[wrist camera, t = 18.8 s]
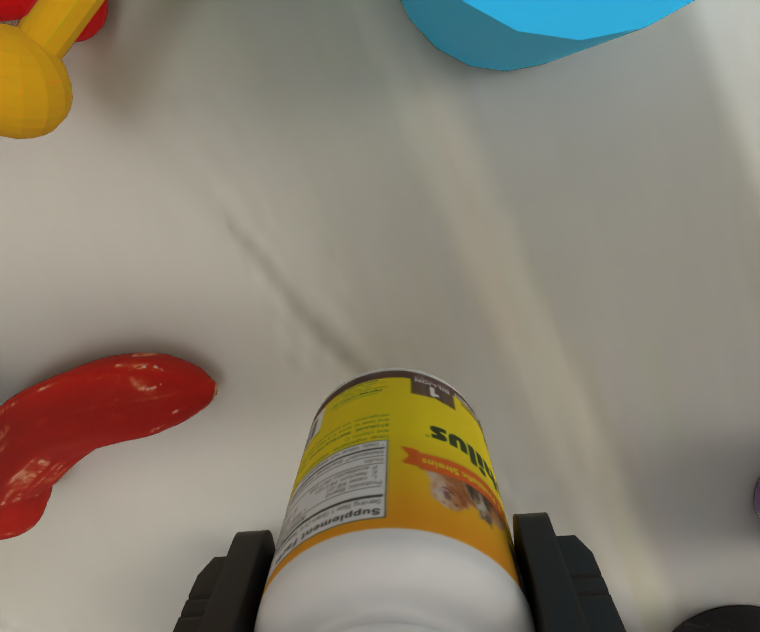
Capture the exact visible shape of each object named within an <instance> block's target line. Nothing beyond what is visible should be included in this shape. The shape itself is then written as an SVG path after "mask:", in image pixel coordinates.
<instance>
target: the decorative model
mask: <svg viewBox="0 0 760 632" xmlns="http://www.w3.org/2000/svg"><path fill="white" fill-rule="evenodd" d="M107 14H108V0H0V22H2V21H11V20H20V19H21V20H20V22H19V23H18V25H17V26H16V27H15V26H12V25H8V24H3V23H0V136H4V137H9V138H14V139H28V138H36V137H39V136H43V135H46V134H48V133H50V132H52V131H53V130H54V129H55V128H56V127H57V126H58V125H59V124H60V123H61V122H62V121H63V120H64V119H65V118H66V116H67V114H68V112H69V111H70V109H71V104H72V99H73V95H72V85H71V82H70V79H69V76H68V73H67V70H66V67H65V65H64V63H63V62H62V60H61V59H62V58H63V57H64V55H65V54H66V53H67V51H68V50H69V48H70V47H71V46H72V44H73V43H74V42H79V41H84V40H87V39H89V38H90V37H92V36H94V35H95V34H96V33H97V32H98V31H99V30H100V29H101V28H102V27H103V25H104V23H105V21H106V19H107Z"/></svg>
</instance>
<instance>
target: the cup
mask: <svg viewBox="0 0 760 632" xmlns="http://www.w3.org/2000/svg"><path fill="white" fill-rule="evenodd" d="M754 505H755V510H756V513H757V516H758V518H759V520H760V479H759V481H758V484H757V486H756V490H755V494H754Z"/></svg>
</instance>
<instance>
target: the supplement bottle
mask: <svg viewBox="0 0 760 632" xmlns="http://www.w3.org/2000/svg"><path fill="white" fill-rule="evenodd" d="M254 632H536V630H535V625H534V620H533V616H532V611H531V607H530V604H529V600H528V596H527V593H526V590H525V586H524V582H523V578H522V574H521V571H520V567H519V564H518V560H517V556H516V552H515V549H514V545H513V541H512V537H511V533H510V530H509V526H508V523H507V519H506V515H505V512H504V508H503V505H502V501H501V497H500V493H499V490H498V486H497V482H496V478H495V475H494V472H493V468H492V464H491V460H490V457H489V453H488V449H487V445H486V441H485V438H484V435H483V431H482V428H481V425H480V422H479V420H478V418H477V415H476V414H475V412H474V410H473V408H472V407H471V405H470V404H469V403H468V401H467V400H466V399H465V398H464V397H463V395H462V394H461V393H460V392H459V391H457V390H456V389H455V388H454V387H453V386H451V385H450V384H448V383H447V382H445V381H443V380H442V379H440V378H438V377H436V376H434V375H431V374H429V373H426V372H423V371H420V370H415V369H410V368H401V367H390V368H381V369H376V370H371V371H368V372H364V373H362V374H359V375H357V376H355V377H353V378H351V379H349V380H347V381H346V382H344V383H343V384H341V385H340V386H339V387H337V388H336V389H335V390H334V391H333V392H332V393H331V394H330V395H329V396H328V397H327V398H326V399H325V401H324V402H323V403H322V405H321V407H320V408H319V410H318V412H317V414H316V416H315V418H314V421H313V423H312V426H311V429H310V432H309V436H308V439H307V443H306V446H305V449H304V453H303V456H302V459H301V463H300V466H299V470H298V473H297V477H296V480H295V484H294V487H293V490H292V493H291V497H290V500H289V504H288V507H287V511H286V515H285V519H284V522H283V526H282V529H281V533H280V536H279V540H278V543H277V547H276V550H275V554H274V557H273V560H272V563H271V567H270V570H269V574H268V577H267V581H266V585H265V588H264V592H263V595H262V598H261V601H260V605H259V609H258V613H257V618H256V622H255V627H254Z"/></svg>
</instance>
